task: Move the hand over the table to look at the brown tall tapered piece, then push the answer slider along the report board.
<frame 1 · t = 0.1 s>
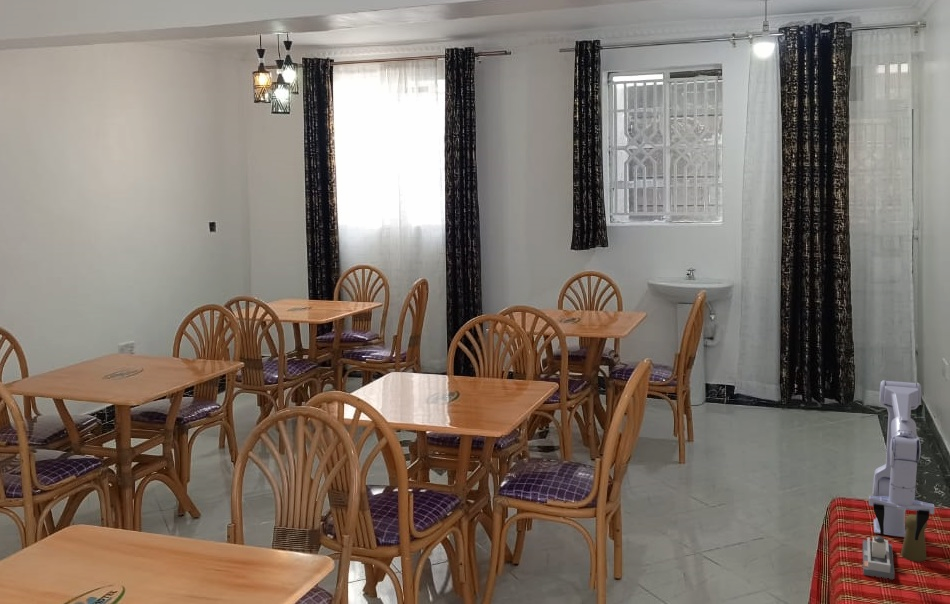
hand: (898, 536, 214), 10 cm above the table, tool pointing down, fingers open, 7 cm apart
brown tall tapered piece: (913, 556, 225), on the table
answer slider: (878, 546, 222), point 4 cm above the table, slide at 0.0 cm
report board: (877, 561, 222), on the table
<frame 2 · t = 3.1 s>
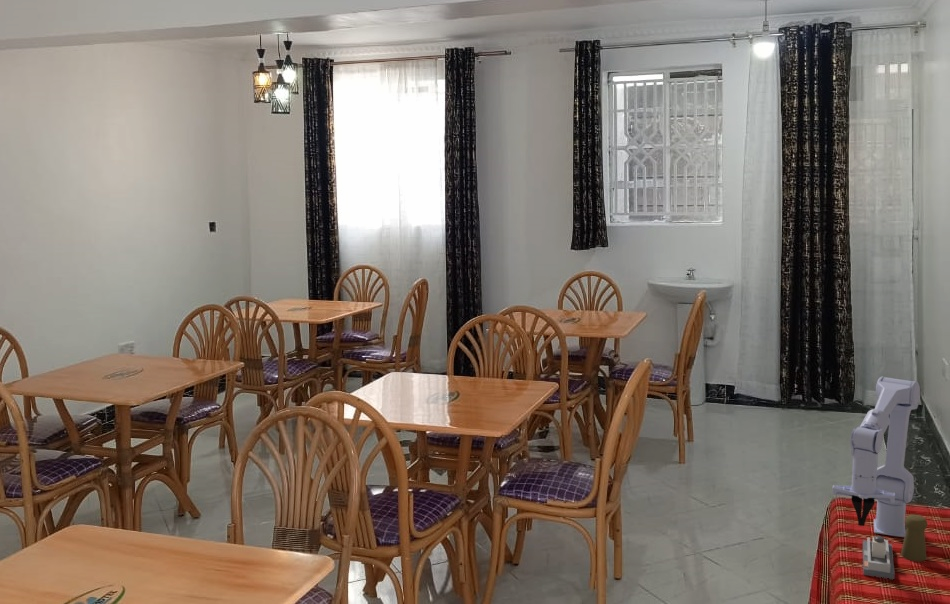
hand: (861, 524, 221), 10 cm above the table, tool pointing down, fingers closed
nothing on the table moved.
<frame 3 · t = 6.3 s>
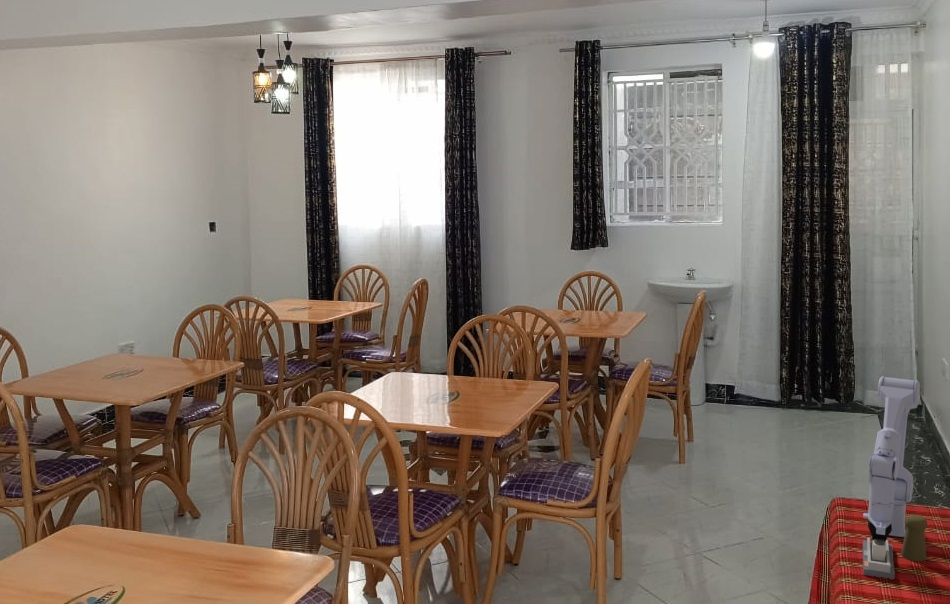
hand: (878, 549, 224), 2 cm above the table, tool pointing down, fingers closed
answer slider: (878, 549, 221), point 4 cm above the table, slide at 1.6 cm, touching gripper
everything else where it was.
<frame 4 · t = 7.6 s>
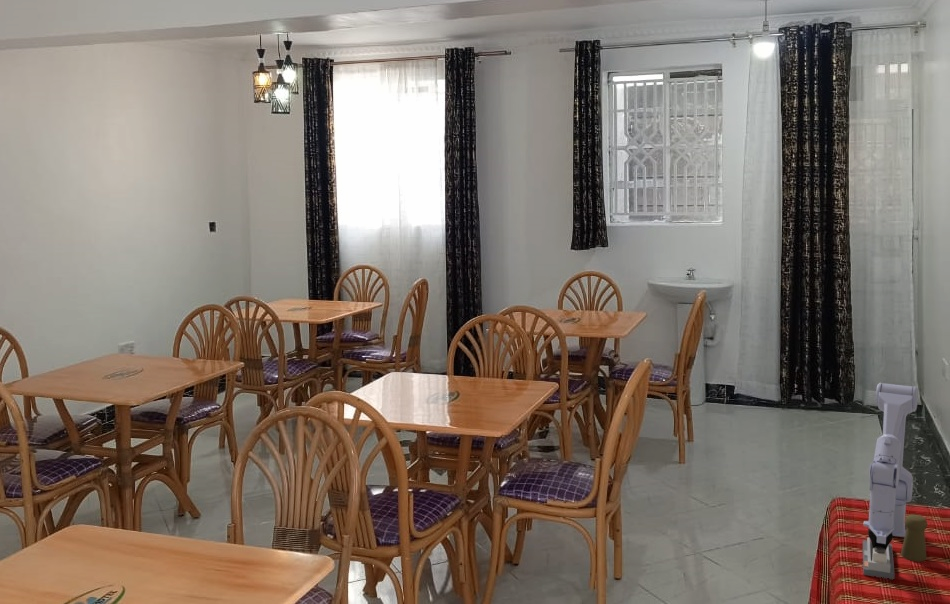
hand: (878, 558, 219), 2 cm above the table, tool pointing down, fingers closed
answer slider: (879, 557, 216), point 4 cm above the table, slide at 6.7 cm, touching gripper
everything else where it was.
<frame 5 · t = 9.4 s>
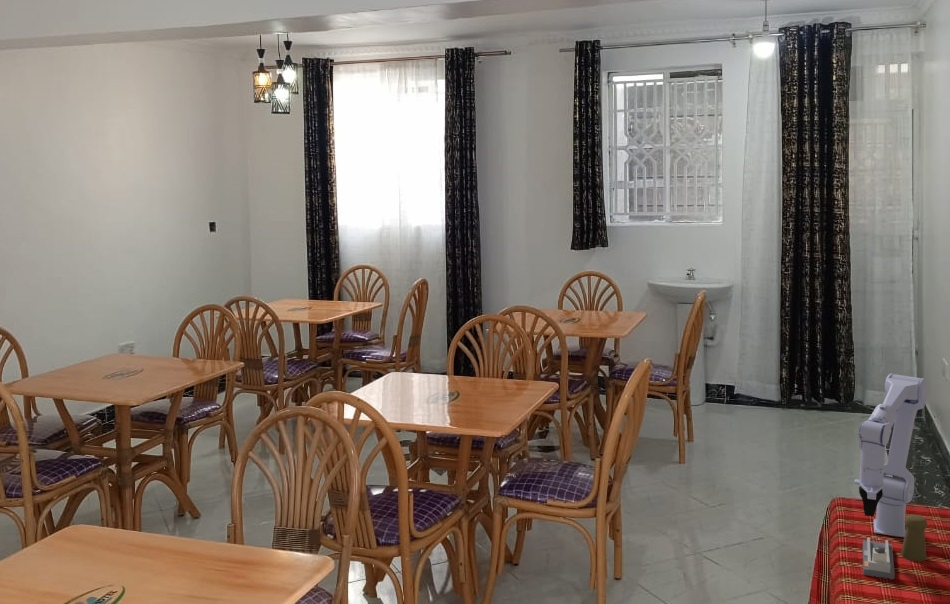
hand: (869, 515, 226), 10 cm above the table, tool pointing down, fingers closed
answer slider: (879, 557, 216), point 4 cm above the table, slide at 6.5 cm
everything else where it was.
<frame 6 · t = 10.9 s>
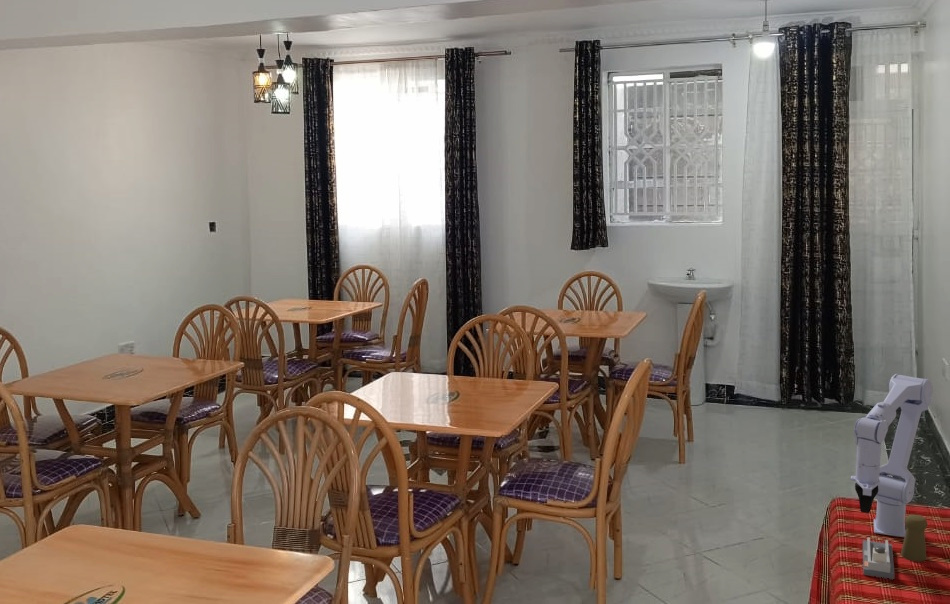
hand: (865, 511, 228), 10 cm above the table, tool pointing down, fingers closed
nothing on the table moved.
at the end: answer slider slide at 6.5 cm; brown tall tapered piece moved 0.2 cm from its start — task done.
